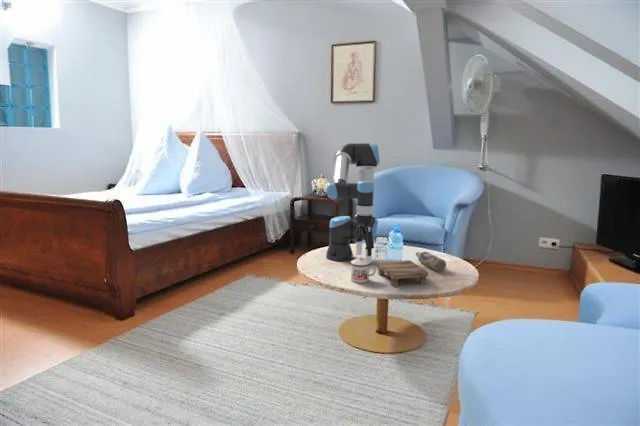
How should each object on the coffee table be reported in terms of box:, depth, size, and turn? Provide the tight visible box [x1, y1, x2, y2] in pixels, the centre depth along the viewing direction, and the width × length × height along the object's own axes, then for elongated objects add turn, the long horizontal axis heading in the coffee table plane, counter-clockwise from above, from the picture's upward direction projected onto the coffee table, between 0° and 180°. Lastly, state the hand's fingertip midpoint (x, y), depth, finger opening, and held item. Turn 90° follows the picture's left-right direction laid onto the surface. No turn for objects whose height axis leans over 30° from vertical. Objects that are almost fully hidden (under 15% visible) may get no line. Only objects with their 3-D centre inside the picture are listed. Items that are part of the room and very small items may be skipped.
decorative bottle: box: [415, 251, 447, 273], centre depth 232 cm, size 26×8×7 cm, turn 14°
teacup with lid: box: [350, 256, 377, 284], centre depth 205 cm, size 12×9×12 cm
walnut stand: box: [376, 259, 430, 287], centre depth 209 cm, size 20×18×6 cm
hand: (363, 258), depth 204 cm, fingers open, 13 cm apart
